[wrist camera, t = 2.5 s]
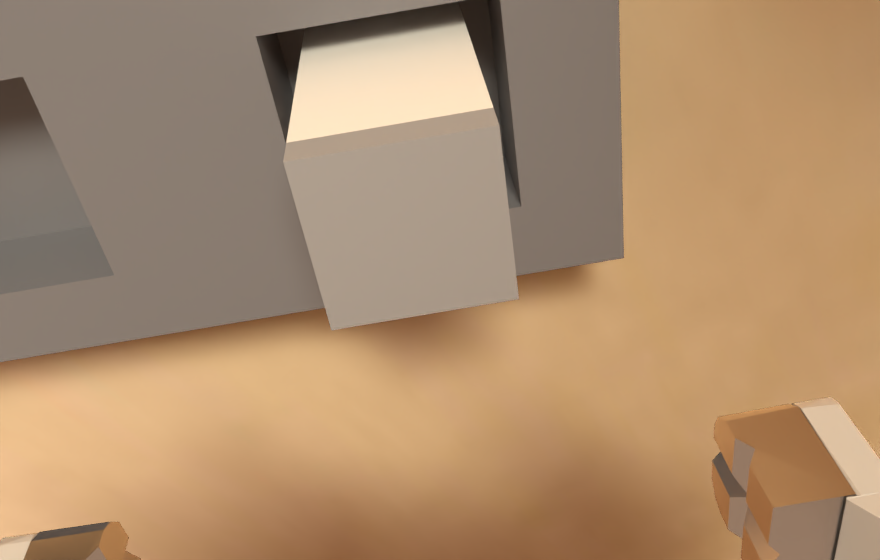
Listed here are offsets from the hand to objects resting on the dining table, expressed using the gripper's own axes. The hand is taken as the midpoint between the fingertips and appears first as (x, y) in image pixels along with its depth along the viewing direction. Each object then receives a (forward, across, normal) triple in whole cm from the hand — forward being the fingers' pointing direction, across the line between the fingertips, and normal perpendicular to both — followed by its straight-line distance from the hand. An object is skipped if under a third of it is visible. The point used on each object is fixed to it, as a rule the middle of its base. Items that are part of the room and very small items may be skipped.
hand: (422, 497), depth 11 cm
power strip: (+15, +5, 0) cm, 16 cm away
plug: (+14, 0, 0) cm, 14 cm away
